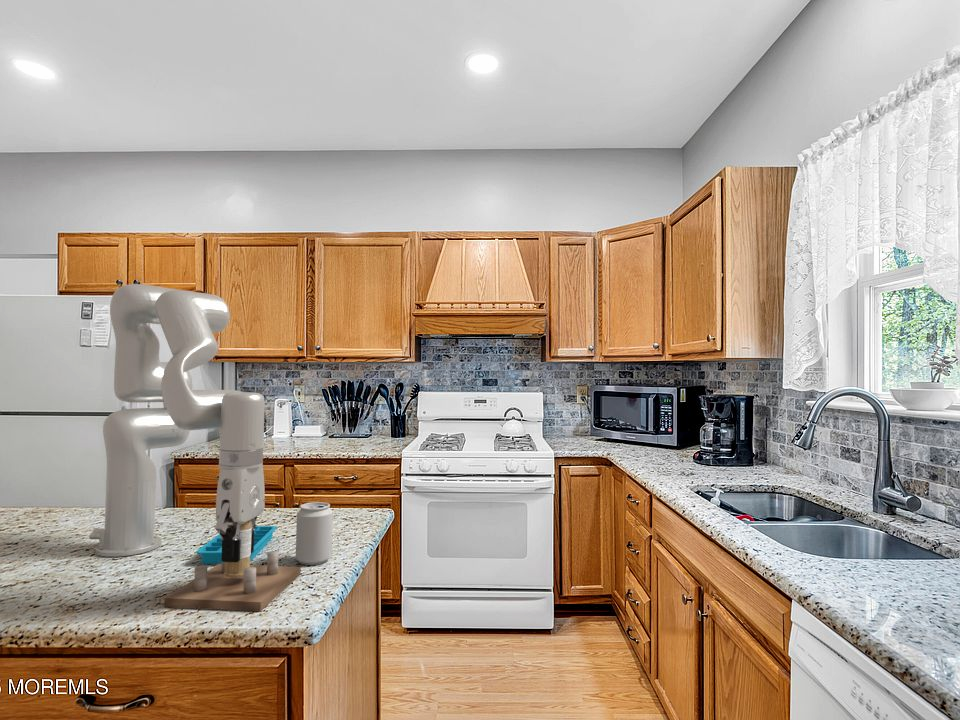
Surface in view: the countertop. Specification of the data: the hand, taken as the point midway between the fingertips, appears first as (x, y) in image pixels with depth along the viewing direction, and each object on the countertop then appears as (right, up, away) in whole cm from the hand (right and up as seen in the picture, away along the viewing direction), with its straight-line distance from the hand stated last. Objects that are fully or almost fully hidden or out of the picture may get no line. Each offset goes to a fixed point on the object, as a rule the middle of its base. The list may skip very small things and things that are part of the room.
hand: (238, 555), depth 100 cm
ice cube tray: (-10, -7, +22) cm, 25 cm away
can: (+9, -7, +16) cm, 20 cm away
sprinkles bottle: (0, -4, 0) cm, 4 cm away
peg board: (0, -6, 0) cm, 6 cm away
